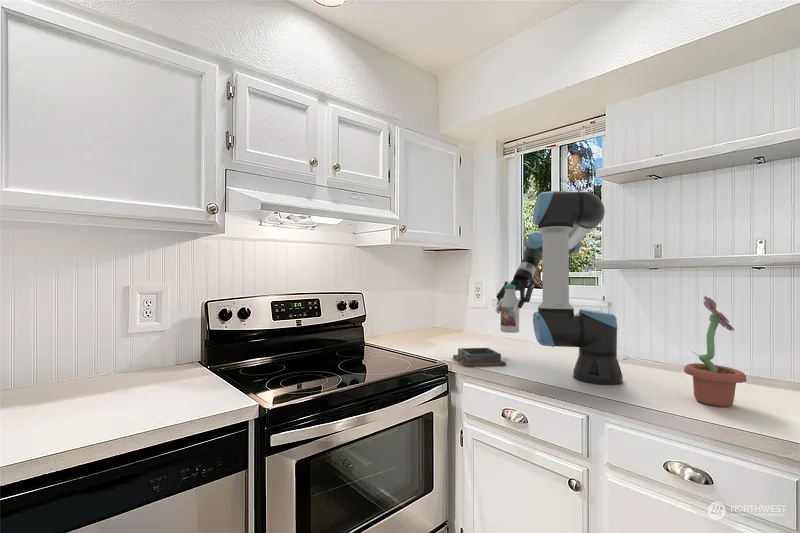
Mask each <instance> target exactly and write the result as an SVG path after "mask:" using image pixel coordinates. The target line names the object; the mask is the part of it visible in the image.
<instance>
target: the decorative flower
mask: <svg viewBox="0 0 800 533" xmlns="http://www.w3.org/2000/svg"><path fill="white" fill-rule="evenodd" d="M703 305H704V307H705V308H707V309H708V311H710V312H711V313H710V315H709V321H710V322H709V325H708V328H707V331H706V334H705V335H706V353H705V354H698V353H696V352H694V351H692V354H694V355H697V356H698V359H699V361H700V362H702V363H696V362H694V363H688V364H686V365H685V366H684V367H683V368H684V369H683V372H684V373H685V374H687V375H689V376H692V385H693V388H692V389H693V395H694V398H695V400H696V401H698V402H700V403H702V404H705V405H709V406H713V407H721V408H722V407H723V408H729V407H731V406H733V404H734V401H735V395H736V394H735V393H736V387H737V384H742V383H746V382H747V375H746V374H745V372H743V371H741V370H740V369H739V370H738V369H735V368H732V367H728V366H722V365H717V364H714V363H713V361H712V360H713V359H714V357H715V354H716V352H715V351H716V350H715V348H716V347H715V336H716V330H717V328H718V326H719V325H720V326H722V328H725V329H726V330H728V331H731V332H733V331H735V328H734V327H733V326H732V325H731V324H730V321H729V320H728V318H727V317H726V316H725V315H724V314H723V312H720V311H718V310H717V303H716V301H715V300H714V299H712V298H711V297H708V296H703Z"/></svg>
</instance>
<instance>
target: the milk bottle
mask: <svg viewBox="0 0 800 533" xmlns="http://www.w3.org/2000/svg"><path fill="white" fill-rule="evenodd" d="M515 289H516V286H515V285H505V295H504V297H503V299H502V302H501V311H500V331H501V332H503V333H509V334H510V333H513V334H516V333H520V310H519V311H518V313H517V315H515V314H514V313H513V309H514V307H515V305H516V303H517V301H518V299H519V298H518V297H517V294H516V291H515Z"/></svg>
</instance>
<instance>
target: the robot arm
mask: <svg viewBox="0 0 800 533" xmlns="http://www.w3.org/2000/svg"><path fill="white" fill-rule="evenodd" d="M604 217H605V204H604V203H603V202H602V200H601V199H600V197H598V196H597V195H595V194H594V193H592V192H589V191H584V190H573V191H567V190H566V191H563V190H562V191H554V190H552V191H545V192H544V191H543V192H542V191H541V193H538V196H537V197H536V200H535V203H534V208H533V214H532V224H533V225H534V226H537V231H532V232H531V233H530V234H529V235H528V237H527V240H526V244H525V251H524V252H523V254H524V255H523V257H522V260H521V262H520V264H519V265H518V267H517V270H516V272H515V273H514V276H513V279H512V280H511V281H510V282H509V281H505V282H504V285H503V286H502V287H501V289H500V290H499V292H498V293H497V294H496V296H495V297H496V298H497V303H496V305H497V306H496V307H495V310H494V311H495V312H496V314H498V315H499V314H501V302H502V299H503V297H504V295H505V285H515V286H516V289H515V292H516V291H519V294H520V295H519V296H520V297H519V298H517V299H518V301H517V303H516V305H515V307H514V309H513V313H514V314H515V315H517V313H518V311H519V312H520V309H522V308H523V306H524V304H525V303H530V300H531V298H532V294H533V290H534V289H535V287H536V286H535V284H534V282H533V281H532V279H533V277H534V275H535V274H536V271H537V269H538V267H539V265H540V263H541V262H542V301H541V303H540V304H539V305H538V306H537V311H535V312H534V313H533V314H532V325H533V332H534V334H535V339H536V341H537V343H538V344H539V345H541V346H543V347H551V348H554V347H559V348H560V347H561V348H564V347H565V348H578V356H577V359H576V361H575V365H574V368H573V369H572V370H573V371H572V372H573V373H572V374H573V378H575V379H576V380H579V381H582V382H586V383H591V384H595V385H596V384H599V385H620V384H621V383H623V379H624V378H623V373H622V370H621V367H620V364H619V361H618V329H619V327H618V321H617V317H616V316H615V314H612V313H609V312H605V311H599V310H593V309H585V308H580V309H579V311H578V313H577V312H576V313H575V309H574V308H575V307H574V306H573V305H571V303H570V278H569V276H570V275H569V274H570V269H569V268H570V267H569V265H570V264H569V262H570V261H569V260H570V259H569V258H570V256H569V255H572V254H574V255H575V254H578V253H579V252H580V250H581V249H580V248H581V241H582V240H583V238H585V236H587V234H588V233H589V232H590V231H591V230H592V229H594V228H596V227H598V226H599V224H601V223H602V222H603V220H604Z"/></svg>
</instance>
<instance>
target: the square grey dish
mask: <svg viewBox="0 0 800 533" xmlns="http://www.w3.org/2000/svg"><path fill="white" fill-rule="evenodd" d="M453 359H454V360H456V361H457V362H459V363H460V364H461V365H463V366H465V367H466V368H476V367H477V368H478V367H504V366H503V365H506V366H507V362H506V361H504V360H502V353H500V352H498V351H495V350H494V349H492V348H489V347H467V348H466V347H465V348H464V347H463V348H462V347H461V348H460V347H459V348H457V354H453Z"/></svg>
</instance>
